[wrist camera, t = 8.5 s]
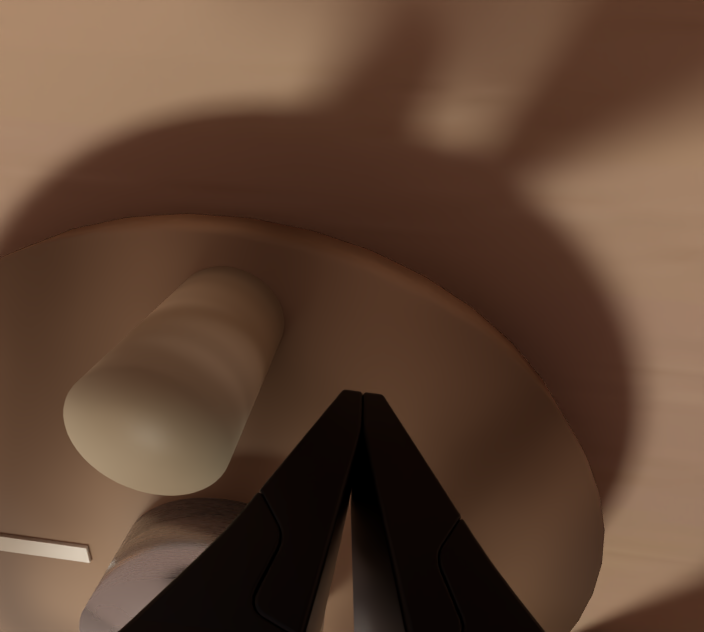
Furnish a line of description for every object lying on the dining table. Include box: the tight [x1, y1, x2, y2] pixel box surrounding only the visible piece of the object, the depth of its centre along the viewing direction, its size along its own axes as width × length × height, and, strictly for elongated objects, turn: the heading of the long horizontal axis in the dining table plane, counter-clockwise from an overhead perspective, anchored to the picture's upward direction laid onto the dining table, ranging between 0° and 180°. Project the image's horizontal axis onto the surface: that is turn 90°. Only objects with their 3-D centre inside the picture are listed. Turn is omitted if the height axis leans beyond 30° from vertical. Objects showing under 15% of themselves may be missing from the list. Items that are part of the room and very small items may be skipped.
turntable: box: [0, 214, 604, 632], centre depth 14 cm, size 24×24×6 cm
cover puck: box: [79, 498, 326, 632], centre depth 14 cm, size 7×7×2 cm
